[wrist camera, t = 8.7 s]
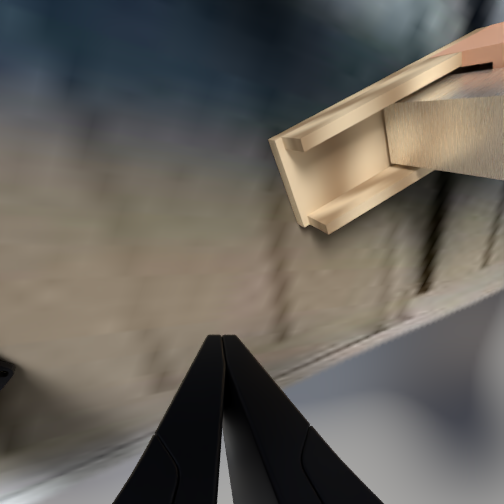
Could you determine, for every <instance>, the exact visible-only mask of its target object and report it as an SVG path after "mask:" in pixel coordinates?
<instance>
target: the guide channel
mask: <svg viewBox="0 0 504 504" xmlns="http://www.w3.org/2000/svg"><path fill="white" fill-rule="evenodd" d="M487 27H488V26H487ZM485 28H486V27H483V28H480V29H476V30H474V31H472V32H471V33H469V34H467V35H465V36H463V37H461V38H459V39H457V40H455V41H454V42H452V43H450V44H448V45H446V46H444V47H442V48H440V49H438V50H437V51H435V52H433V53H431V54H429V55H427V56H425V57H423V58H421V59H420V60H418V61H416V62H414V63H412V64H410V65H408V66H406V67H404V68H403V69H401V70H399V71H397V72H395V73H393V74H391V75H389V76H387V77H386V78H384V79H382V80H380V81H378V82H376V83H374V84H372V85H370V86H369V87H367V88H365V89H363V90H361V91H359V92H357V93H355V94H353V95H352V96H350V97H348V98H346V99H344V100H342V101H340V102H338V103H336V104H335V105H333V106H331V107H329V108H327V109H325V110H323V111H321V112H319V113H318V114H316V115H314V116H312V117H310V118H308V119H306V120H304V121H302V122H301V123H299V124H297V125H295V126H293V127H291V128H289V129H287V130H285V131H284V132H282V133H280V134H278V135H276V136H274V137H272V138H270V139H268V141H269V144H270V146H271V149H272V152H273V155H274V158H275V161H276V163H277V166H278V169H279V172H280V175H281V178H282V180H283V183H284V186H285V189H286V192H287V195H288V197H289V200H290V203H291V206H292V209H293V212H294V214H295V217H296V220H297V223H298V224H299V225H301V226H303V227H304V228H305V227H306V226H308V225H312V226H314V227H316V228H317V229H319V230H321V231H323V232H325V233H327V234H328V235H329V234H330V233H332V232H334V231H335V230H337V229H339V228H340V227H342V226H344V225H345V224H347V223H348V222H350V221H352V220H353V219H355V218H357V217H358V216H360V215H362V214H363V213H365V212H366V211H368V210H370V209H371V208H373V207H375V206H376V205H378V204H380V203H381V202H383V201H385V200H386V199H388V198H389V197H391V196H393V195H394V194H396V193H398V192H399V191H401V190H403V189H404V188H406V187H407V186H409V185H411V184H412V183H414V182H416V181H417V180H419V179H421V178H422V177H424V176H425V175H427V174H429V173H430V172H432V171H434V169H427V168H420V167H414V166H407V165H401V164H394V163H391V160H390V153H389V146H388V139H387V132H386V124H385V117H384V110H383V109H384V108H385V107H387V106H389V105H391V104H393V103H394V102H396V101H398V100H400V99H402V98H404V97H405V96H407V95H409V94H411V93H413V92H415V91H416V90H418V89H420V88H422V87H424V86H425V85H427V84H429V83H431V82H433V81H435V80H436V79H438V78H440V77H442V76H447V75H454V74H461V73H468V72H474V71H476V70H477V69H479V68H480V64H476V65H470V66H464V67H460V66H462V52H458V53H453V54H448V55H443V56H438V57H434V58H430V57H432V56H434V55H436V54H438V53H439V52H441V51H443V50H445V49H447V48H449V47H451V46H453V45H454V44H456V43H458V42H460V41H462V40H464V39H466V38H468V37H470V36H471V35H473V34H475V33H477V32H479V31H481V30H483V29H485Z"/></svg>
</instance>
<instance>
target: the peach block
mask: <svg viewBox="0 0 504 504" xmlns="http://www.w3.org/2000/svg"><path fill="white" fill-rule="evenodd" d="M458 52H462V66H460V67H464V66H470V65H476V64H480V68H481V67H483V66H484V65H486V64H488V63H490V62H493V69H496V68H503V67H504V22H501V23H498V24H494V25H490V26H488V27H486V28H485V29H483V30H481V31H479V32H477V33H475V34H473V35H471V36H470V37H468V38H466V39H464V40H462V41H460V42H458V43H456V44H454V45H453V46H451V47H449V48H447V49H445V50H443V51H441V52H439V53H438V54H436V55H434V56H432V57H430V58H434V57H438V56H443V55H448V54H453V53H458Z"/></svg>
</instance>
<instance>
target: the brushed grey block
mask: <svg viewBox="0 0 504 504" xmlns="http://www.w3.org/2000/svg"><path fill="white" fill-rule="evenodd" d="M383 110H384V117H385V124H386V132H387V139H388V146H389V153H390V160H391V163H394V164H401V165H407V166H414V167H420V168H427V169H434V170H440V171H447V172H453V173H460V174H466V175H473V176H480V177H486V178H493V179H499V180H504V67H503V68H496V69H493V62H490V63H488V64H486V65H484V66H483V67H481V68H479V69H477V70H476V71H474V72H468V73H461V74H454V75H447V76H442V77H440V78H438V79H436V80H435V81H433V82H431V83H429V84H427V85H425V86H424V87H422V88H420V89H418V90H416V91H415V92H413V93H411V94H409V95H407V96H405V97H404V98H402V99H400V100H398V101H396V102H394V103H393V104H391V105H389V106H387V107H385V108H384V109H383Z"/></svg>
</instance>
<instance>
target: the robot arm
mask: <svg viewBox="0 0 504 504" xmlns="http://www.w3.org/2000/svg"><path fill="white" fill-rule="evenodd" d="M1 371H7V372H6V373H4V372H1ZM14 371H15V367H14V365H12V364H10V363H7V362H3V361H0V391H1V389H2V388H3V387H4V386H5V385H6V383H7V382H8V381H9V380H10V379H11V377H12V376H13V374H14ZM222 428H223V434H224V441H225V448H226V455H227V461H228V469H229V476H230V483H231V489H232V496H233V503H234V504H384V503H383V502H382V501H381V500H380V499H379V498H378V497H377V496H376V495H375V494H374V493H373V492H372V491H371V490H370V489H369V488H368V487H367V486H366V485H365V484H364V483H363V482H362V481H361V480H360V479H359V478H358V477H357V476H356V475H355V474H354V473H353V472H352V471H351V470H350V469H349V468H348V467H347V465H346V464H345V463H344V462H343V461H342V460H341V459H340V458H339V457H338V456H337V454H336V453H335V452H334V451H333V450H332V449H331V448H330V447H329V445H328V444H327V443H326V442H325V441H324V440H323V438H322V437H321V436H320V435H319V434H318V432H317V431H316V430H315V429H314V428H313V426H310V424H309V422H308V421H307V420H306V419H305V418H304V416H303V415H302V414H301V413H300V411H299V410H298V409H297V408H296V407H295V406H294V404H293V403H292V402H291V401H290V400H289V398H288V397H287V396H286V395H285V393H284V392H283V391H282V390H281V389H280V387H279V386H278V385H277V384H276V383H275V381H274V380H273V379H272V378H271V377H270V375H269V374H268V373H267V372H266V371H265V369H264V368H263V367H262V366H261V365H260V363H259V362H258V361H257V360H256V359H255V357H254V356H253V355H252V354H251V353H250V351H249V350H248V349H247V348H246V347H245V345H244V344H243V343H242V342H241V340H240V339H239V338H238V337H237V336H236V335H223V336H221V335H208V336H207V337H206V339H205V341H204V342H203V344H202V346H201V348H200V350H199V352H198V354H197V355H196V357H195V359H194V361H193V363H192V365H191V367H190V368H189V370H188V372H187V374H186V376H185V378H184V380H183V381H182V383H181V385H180V387H179V389H178V391H177V393H176V394H175V396H174V398H173V400H172V402H171V404H170V406H169V407H168V409H167V411H166V413H165V415H164V417H163V419H162V420H161V422H160V424H159V426H158V428H157V430H156V432H155V435H153V436H152V438H151V440H150V442H149V444H148V446H147V448H146V449H145V451H144V453H143V455H142V456H141V458H140V460H139V462H138V464H137V465H136V467H135V469H134V470H133V472H132V474H131V476H130V477H129V479H128V480H127V482H126V483H125V485H124V487H123V488H122V490H121V491H120V493H119V494H118V496H117V497H116V499H115V501H114V502H113V503H112V504H217V495H218V480H219V466H220V452H221V437H222Z"/></svg>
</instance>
